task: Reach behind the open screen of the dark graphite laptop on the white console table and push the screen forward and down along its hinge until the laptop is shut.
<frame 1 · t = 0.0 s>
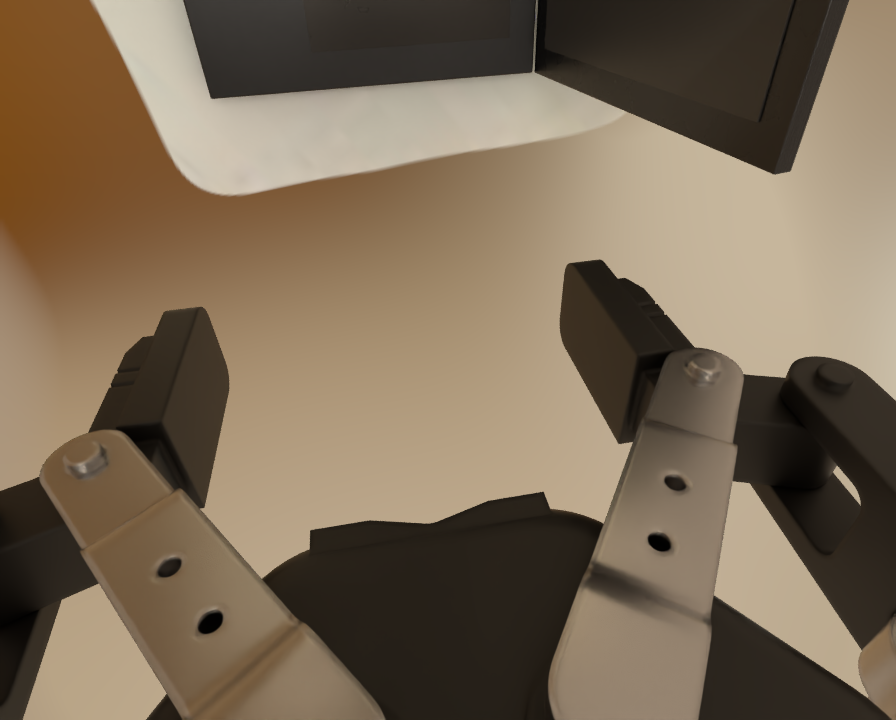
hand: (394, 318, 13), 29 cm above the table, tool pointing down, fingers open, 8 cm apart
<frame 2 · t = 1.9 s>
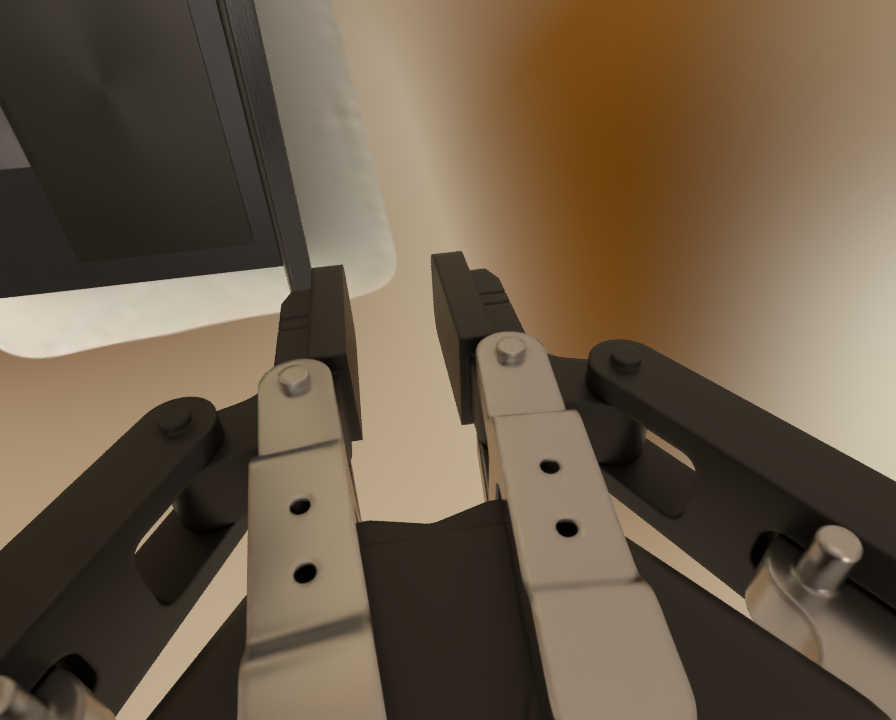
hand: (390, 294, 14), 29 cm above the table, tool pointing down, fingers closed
laptop: (72, 82, 34), on the table
laptop screen: (257, 116, 27), point 12 cm above the table, hinge at 100.0°
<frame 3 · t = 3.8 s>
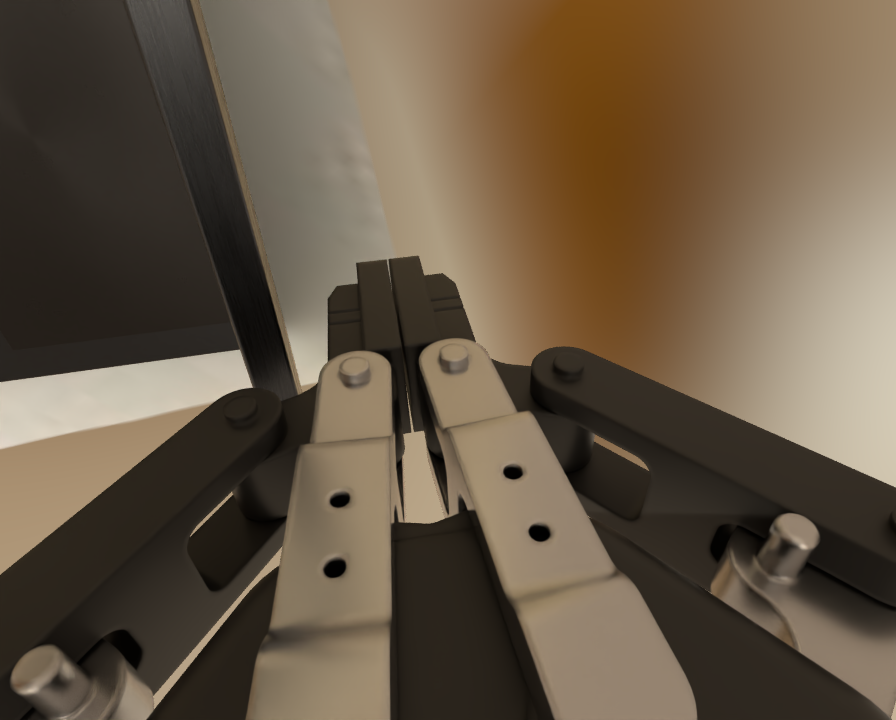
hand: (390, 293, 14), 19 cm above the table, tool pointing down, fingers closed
laptop screen: (235, 198, 18), point 12 cm above the table, hinge at 99.8°, touching gripper
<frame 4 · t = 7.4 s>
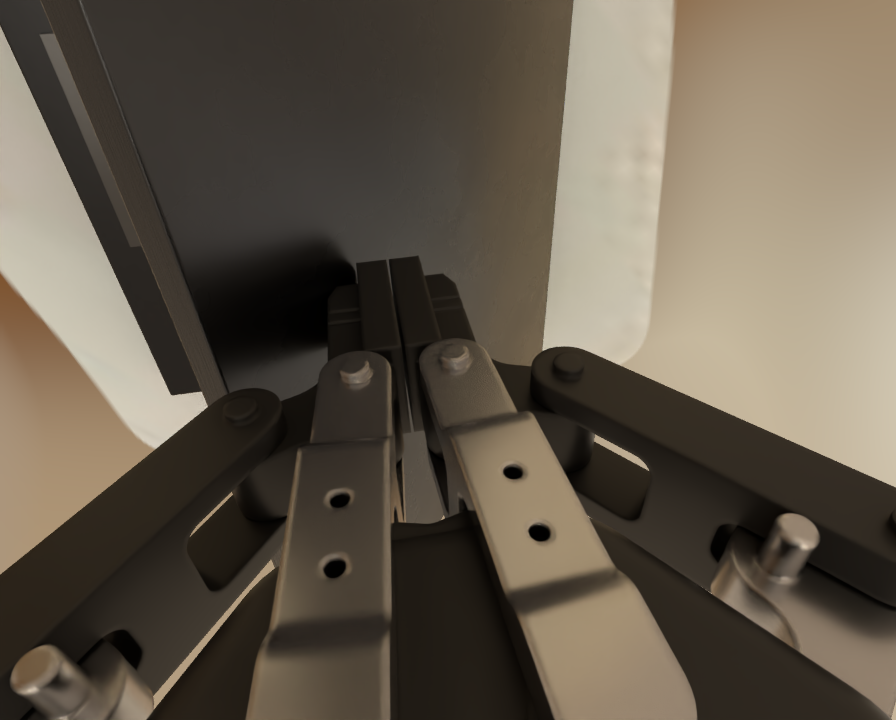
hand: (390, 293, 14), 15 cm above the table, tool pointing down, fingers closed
laptop: (313, 121, 25), on the table
laptop screen: (449, 200, 18), point 10 cm above the table, hinge at 53.3°, touching gripper
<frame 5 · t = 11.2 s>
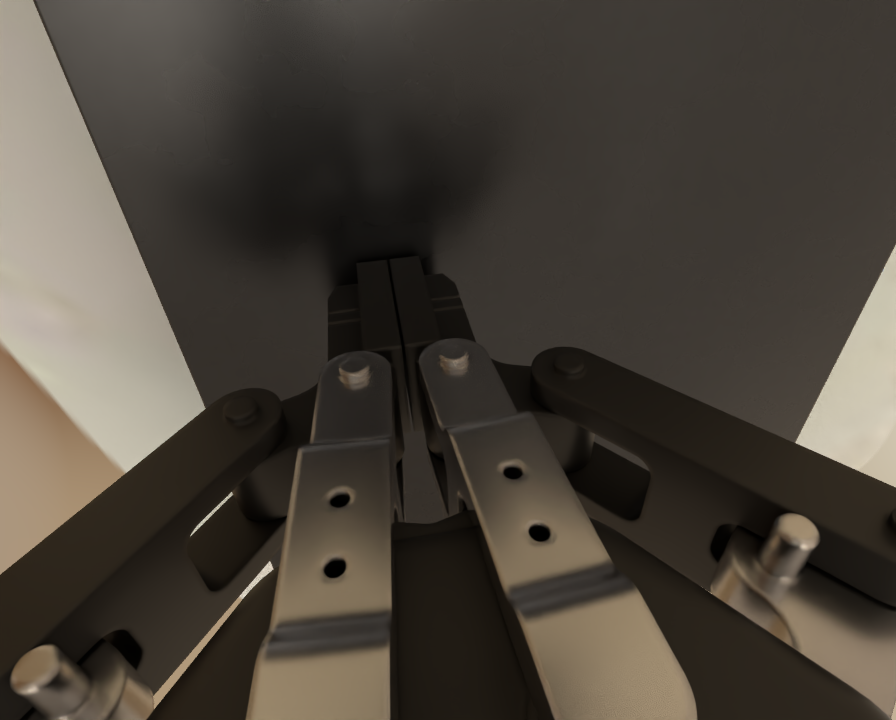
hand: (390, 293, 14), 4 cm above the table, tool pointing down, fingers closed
laptop screen: (573, 252, 15), point 3 cm above the table, hinge at 3.2°, touching gripper, laptop
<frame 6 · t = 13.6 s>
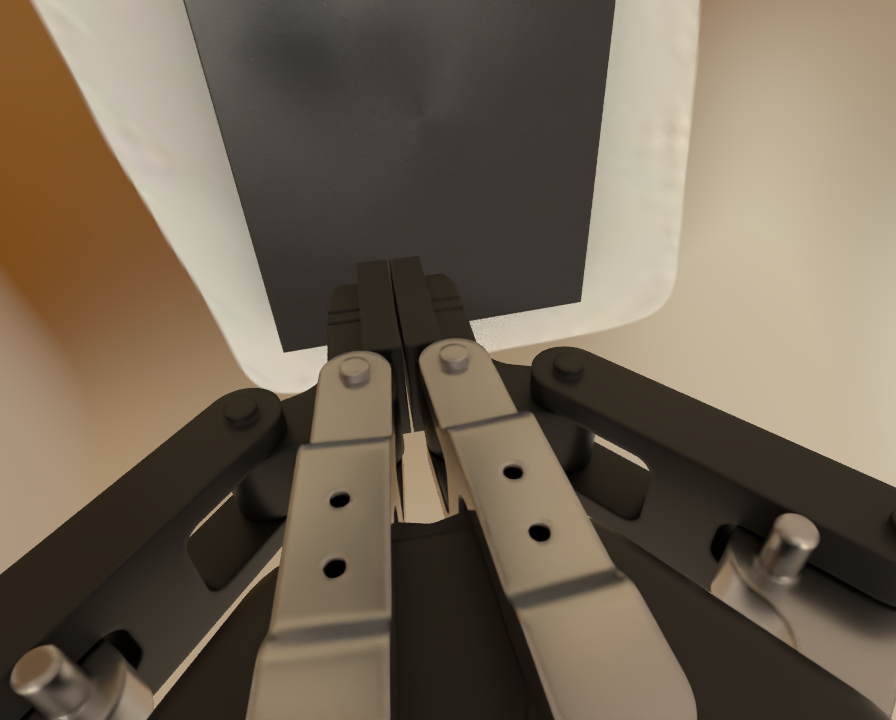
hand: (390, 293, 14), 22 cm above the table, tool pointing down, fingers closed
laptop screen: (422, 116, 29), point 3 cm above the table, hinge at 3.5°, touching laptop
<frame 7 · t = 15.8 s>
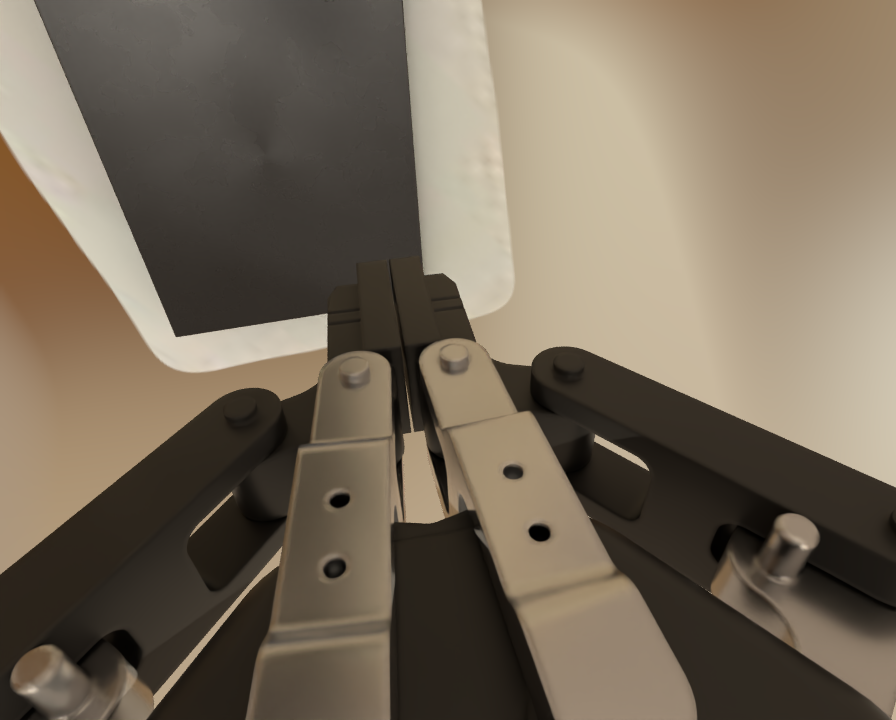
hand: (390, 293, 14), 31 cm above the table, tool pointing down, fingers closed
laptop screen: (266, 153, 38), point 3 cm above the table, hinge at 3.5°, touching laptop
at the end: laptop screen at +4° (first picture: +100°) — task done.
